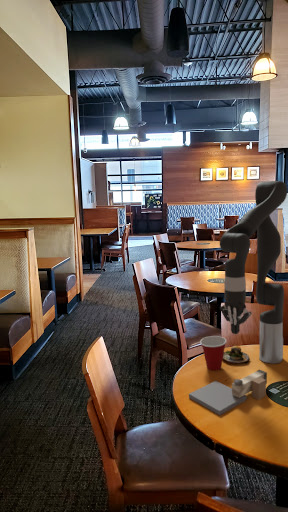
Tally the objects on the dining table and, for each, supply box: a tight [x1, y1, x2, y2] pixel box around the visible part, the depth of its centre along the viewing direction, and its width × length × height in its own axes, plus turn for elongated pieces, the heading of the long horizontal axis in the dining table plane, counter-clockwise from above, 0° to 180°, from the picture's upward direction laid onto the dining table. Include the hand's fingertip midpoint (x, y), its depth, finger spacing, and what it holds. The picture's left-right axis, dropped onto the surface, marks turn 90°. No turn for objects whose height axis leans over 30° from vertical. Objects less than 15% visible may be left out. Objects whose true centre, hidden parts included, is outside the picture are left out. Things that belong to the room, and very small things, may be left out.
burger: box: [223, 345, 250, 364], centre depth 155 cm, size 12×12×8 cm
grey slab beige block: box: [188, 377, 267, 416], centre depth 126 cm, size 21×17×6 cm
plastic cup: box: [199, 335, 227, 371], centre depth 148 cm, size 11×11×12 cm
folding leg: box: [231, 369, 268, 398], centre depth 128 cm, size 16×3×5 cm, turn 127°
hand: (235, 333), depth 133 cm, fingers closed
